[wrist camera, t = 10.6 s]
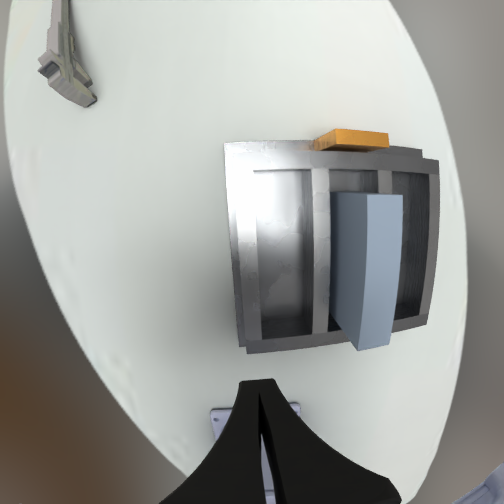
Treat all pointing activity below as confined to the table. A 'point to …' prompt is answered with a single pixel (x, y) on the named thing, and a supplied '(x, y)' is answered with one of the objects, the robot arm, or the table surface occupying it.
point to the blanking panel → (365, 264)
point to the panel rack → (319, 232)
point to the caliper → (64, 59)
